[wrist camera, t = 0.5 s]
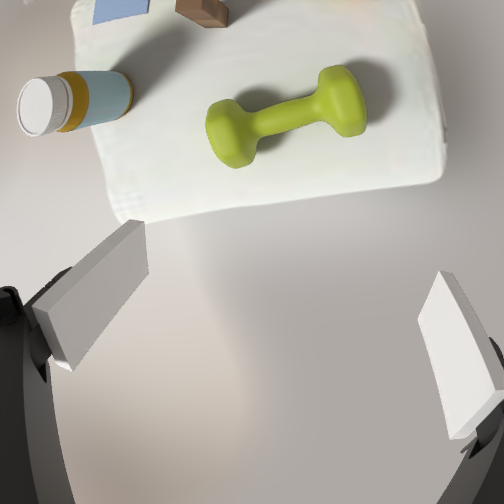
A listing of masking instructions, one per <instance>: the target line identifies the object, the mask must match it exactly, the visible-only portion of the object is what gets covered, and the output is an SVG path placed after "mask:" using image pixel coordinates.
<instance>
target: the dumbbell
mask: <svg viewBox="0 0 504 504" xmlns="http://www.w3.org/2000/svg"><path fill="white" fill-rule="evenodd" d="M317 121H324V122H327V123H328V124H330V125H331V126H332V127H333V129H334V130H335V131H336V132H337V133H338V134H339V135H341V136H343V137H353V136H357V135H360V134H362V133H363V132H364V131H365V129H366V123H367V110H366V104H365V101H364V98H363V94H362V92H361V89H360V86H359V84H358V82H357V80H356V79H355V77H354V76H353V75H352V73H351V72H350V71H349V70H348V69H347V68H346V67H345V66H343V65H335V66H331V67H327V68H325V69H323V70H322V71H321V72H320V74H319V78H318V87H317V90H316V91H315V92H314V94H312V95H310V96H307V97H302V98H297V99H293V100H289V101H285V102H281V103H278V104H275V105H273V106H270V107H267V108H265V109H262V110H260V111H257V112H254V113H249V112H246V111H244V110H243V109H242V108H241V106H240V105H239V104H238V103H237V102H235V101H234V100H231V99H225V100H221V101H219V102H216V103H214V104H212V105H211V106H210V107H209V109H208V112H207V117H206V122H205V127H206V133H207V136H208V139H209V141H210V144H211V146H212V149H213V151H214V153H215V154H216V156H217V157H218V158H219V159H220V160H221V161H222V162H223V163H224V164H226V165H227V166H229V167H231V168H235V169H236V168H241V167H244V166H247V165H249V164H250V163H252V162H253V160H254V158H255V154H256V147H257V143H258V141H259V140H260V139H261V138H262V137H265V136H269V135H274V134H278V133H282V132H286V131H289V130H293V129H296V128H299V127H302V126H306V125H308V124H311V123H314V122H317Z"/></svg>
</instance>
